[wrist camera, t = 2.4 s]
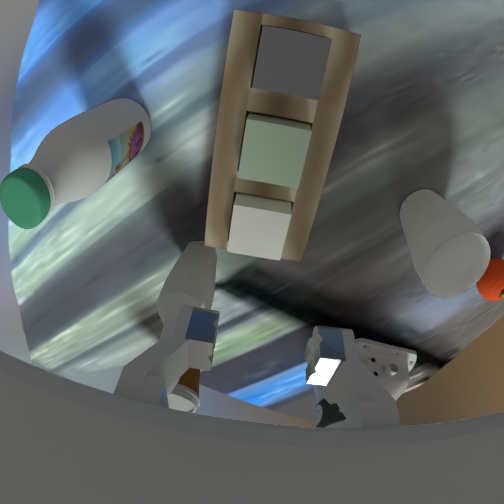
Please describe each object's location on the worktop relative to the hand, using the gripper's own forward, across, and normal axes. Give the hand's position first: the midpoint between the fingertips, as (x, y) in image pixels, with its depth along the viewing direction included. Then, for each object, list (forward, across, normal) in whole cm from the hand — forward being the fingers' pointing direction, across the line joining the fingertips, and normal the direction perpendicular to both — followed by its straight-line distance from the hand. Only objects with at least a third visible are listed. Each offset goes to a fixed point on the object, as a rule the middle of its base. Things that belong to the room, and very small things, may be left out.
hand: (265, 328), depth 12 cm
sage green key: (+25, 0, 0) cm, 25 cm away
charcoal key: (+25, 0, +9) cm, 26 cm away
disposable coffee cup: (+27, -9, -42) cm, 51 cm away
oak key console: (+27, 0, 0) cm, 27 cm away
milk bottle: (+27, -18, -1) cm, 33 cm away
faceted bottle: (+27, -7, -18) cm, 33 cm away
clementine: (+27, +39, -11) cm, 49 cm away
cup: (+27, +21, -5) cm, 35 cm away
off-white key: (+25, 0, -9) cm, 26 cm away
